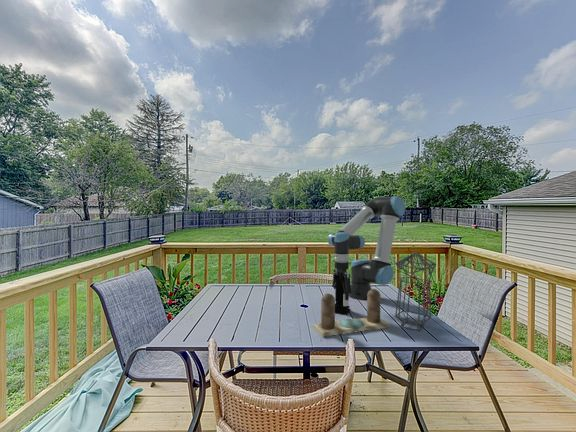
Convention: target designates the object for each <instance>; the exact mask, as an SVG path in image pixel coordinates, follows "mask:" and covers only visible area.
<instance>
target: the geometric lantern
mask: <svg viewBox="0 0 576 432" xmlns="http://www.w3.org/2000/svg"><path fill="white" fill-rule="evenodd" d="M412 259H413V260H412ZM415 259H416V261H417V262H415ZM419 261H420V262H419ZM427 261H428V262H427ZM405 262H407V263H406V264H405ZM429 262H430V263H429ZM409 264H410V265H411V266H410V265H409ZM415 264H417V266H416V265H415ZM394 265H396V267H398V269H399V271H398V272H399V273H398V274H399V277H398V278H399V285H398V293H397V300H396V308H395V314H394V316H395V317H396V318H397V320H398V321H400V322H401V325H400V327H401V328H403V329H407V330H408V329H409V330H413V331H417V332H419V331H421V330H422V329H423V327H424V325H425V324H426V323H427V322H428V321H430V320H431V319H432V305H431V278H432V275H433V272H434V270H435V269H436V266H437V264H436V263H435V262H434V261H432V260H430V259H429V258H427V257H425V256H423V255H422V254H421V253H420V252H419V253H418V252H416V251H415V252H412V253H411V254H409V255H407V256H405V257H404V258H402V259H400V260H398V261H396V262H394ZM420 265H421V266H423V267H419V266H420ZM407 268H409V269H411V271H407ZM413 269H414V271H413ZM401 270H403V273H404V274H403V277H402V275H401ZM425 270H428V274H427V275H426V272H425ZM421 271H423V273H424V275H425V279H423V278H417V276H416V273H418V272H421ZM407 274H410V276H408V275H407ZM428 276H429V278H428ZM403 279H405V280H403ZM408 279H409V281H408ZM412 279H414V280H416V282H412ZM419 280H421V281H423V282H422V283H420V282H419ZM403 283H404V284H405V285H404V292H403V293H404V295H403V301H401V300H402V287H403V286H402V285H403ZM408 283H409V286H408V299H407V310H405V301H406V294H407V293H406V292H407V284H408ZM412 284H415V285H418V308H417V309H418V312H415V311H411V310H409V309H410V299H411V298H410V297H411V296H410V295H411V285H412ZM425 285H427V286H426V287H427V288H426V290H425ZM421 286H422V291H423V292H422V294H423V295H422V299H423V300H422V302H423V305H422V306H423V307H422V308H423V312H422V313H420V312H421V309H420V307H421ZM425 291H426V299H425ZM425 300H426V302H425ZM401 302H403V303H402V309H401ZM425 303H426V304H425ZM425 305H426V307H425ZM428 307H429V308H428ZM425 309H426V310H425ZM428 310H429V311H428ZM405 312H406V314H405ZM428 312H429V315H428ZM409 313H411V314H415V315H417V319H416V318H415V319H414V318H410V317H408V314H409ZM400 314H403V316H404V317H401V315H400ZM420 315H421V316H423V319H422V320H421V318H420V317H421V316H420ZM426 317H427V319H426ZM405 324H406V325H408V326H409V325H410V326H413V327H417V329H414V328H411V327H410V328H409V327H408V326H407V327H405Z"/></svg>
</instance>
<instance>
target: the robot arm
mask: <svg viewBox="0 0 576 432" xmlns="http://www.w3.org/2000/svg"><path fill="white" fill-rule="evenodd" d="M404 214H406V203H405V201H404V200H403V198H402V197H400V196H394V195H392V196H378V197H375V198H372V199H370V200H369V201H367V202H366V203H365V204H364V205H363V206H362V207H361V208H360V211H359V212H358V213H357V214H355V216H353V217H352V218H351V219H350V220H349V221H348V222H347V223H345V224H344V225H343V226H342V227H341V228H340V229H339V230H338V231H337V232H335V233H334V232H333V233H329V234H328V237H327V242H328V244H329V246H331V247H334V255H333V257H334V269H333V275H337V277H340V278H341V280H342V278H343V277H345V282H344V281H343V280H344V278H343V280H342V281H343V282H342V284H343V289H344V293H343V306H350V303H349V302H350V301H349V300H350V299H349V298H352V299H356V300H367V294H368V292H369V290H371V289H372V286H371V283H372V284H376V285H378V286H379V285H382V286H387V285H389V284H390V283H391V281H392V280H394V279H393V278H394V276H395V275H394V274H395V271H394V268H393V267H392V263H391V261H390V257H391V252H392V246H393V241H394V235H395V230H396V225H397V223H398V221H400V218H401V217H402V216H404ZM376 216H379V218H381V220H380V227H379V233H378V237H377V242H376V247H375V253H374V257H373V258H371V259H364V258H363V259H354V260H352V261H351V266H349V265H350V264H349V263H350V262H349V261H350V256H349V255H350V254H349V253H350V250H359V249H362V248H364V247H365V244H366V240H365V238H364V236H363V235H359V234H356V235H355V233H356V232H358V230H359V229H361V228H362V227H363V226H364V225H365V224H366V223H367V222H368V221H369V220H370V219H371V220H372V219H373V218H375V217H376ZM349 267H350V272H351V273H348V272H347V270H349ZM335 285H336V281H334V277H333V276H332V287H333V289H334V298H335V302H336V287H335Z"/></svg>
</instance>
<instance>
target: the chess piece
mask: <svg viewBox="0 0 576 432" xmlns="http://www.w3.org/2000/svg"><path fill="white" fill-rule="evenodd" d="M333 277H334V281H336V285H335V287H336V301H335V314H337V315H338V314H339V315H344V316H345V315H346V316H347V315H348V314H349V313H350V311H351V308H350V307H351V306H350V305H349V306H343V293H344V289H343V284H342V282H343V281H344V282H345V277H343V278H344V280H343V278H342V280H343V281H342V280H341V278H340V277H337V275H334V274H333V275H332V278H333Z"/></svg>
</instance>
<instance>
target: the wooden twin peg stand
mask: <svg viewBox="0 0 576 432" xmlns="http://www.w3.org/2000/svg"><path fill="white" fill-rule="evenodd" d="M335 303H336V301H335V295H333V294H331V293H325V294H323V295H322V297H321V303H320V304H321V311H320V312H321V314H320V315H321V318H320V319H321V321H320V322H321V323H313V325H312V327H313V330H314V331H315V332H316V333H317V332H318V333H319V334H318V333H317V334H318V335H320V337H322V338H326V337H325V336H329V337H333V336H332V335H336V336H339V335H338V334H342V335H344V334H343V333H349V332H355V331H363V330H369V331H373V330H372V329H376V330H383V329H389V328H390V323H389V322H388V321H386V320H385V319H382V317H381V293H380V291H379V290H377V289H375V288H371V290H369V292H368V294H367V299H366V303H367V304H366V316H365V317H361V318H344V319H342V320H337V321H336V313H335ZM382 328H383V329H382ZM363 332H364V331H363ZM349 334H350V333H349Z"/></svg>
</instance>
